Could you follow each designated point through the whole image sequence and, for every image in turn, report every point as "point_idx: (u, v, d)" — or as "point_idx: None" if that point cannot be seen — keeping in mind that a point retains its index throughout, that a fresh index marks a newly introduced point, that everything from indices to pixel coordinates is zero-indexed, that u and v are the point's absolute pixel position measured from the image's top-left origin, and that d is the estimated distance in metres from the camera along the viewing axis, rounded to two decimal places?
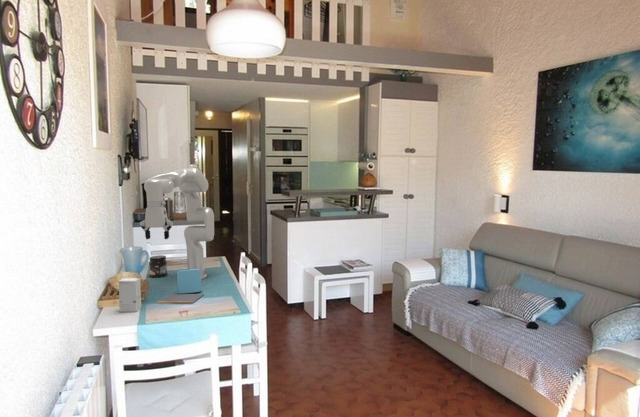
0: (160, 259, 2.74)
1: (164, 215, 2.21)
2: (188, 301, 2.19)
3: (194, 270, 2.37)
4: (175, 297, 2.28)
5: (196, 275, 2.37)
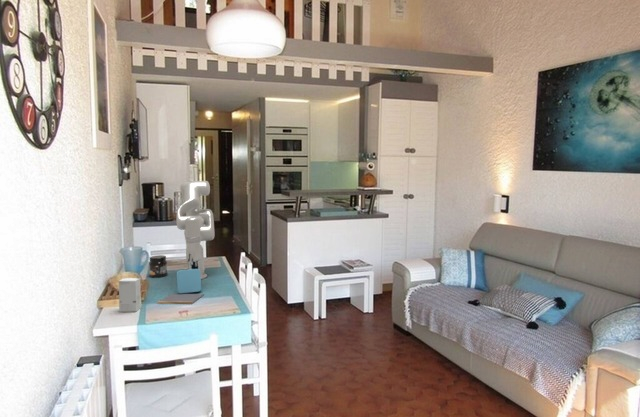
0: (160, 259, 2.74)
1: None
2: (188, 301, 2.19)
3: (194, 270, 2.37)
4: (175, 297, 2.28)
5: (196, 275, 2.37)
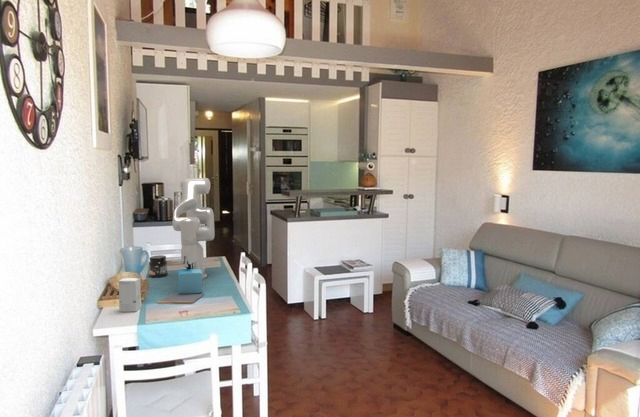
0: (160, 259, 2.74)
1: None
2: (188, 301, 2.19)
3: (196, 273, 2.32)
4: (175, 297, 2.28)
5: (197, 278, 2.33)
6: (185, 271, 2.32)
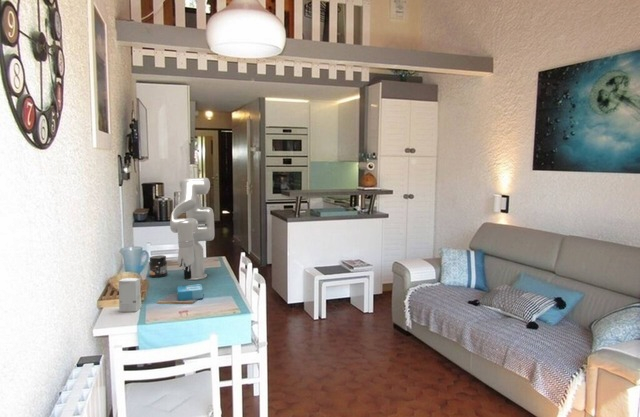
0: (160, 259, 2.74)
1: None
2: (188, 301, 2.19)
3: (196, 298, 2.25)
4: (175, 297, 2.28)
5: None
6: (185, 295, 2.23)
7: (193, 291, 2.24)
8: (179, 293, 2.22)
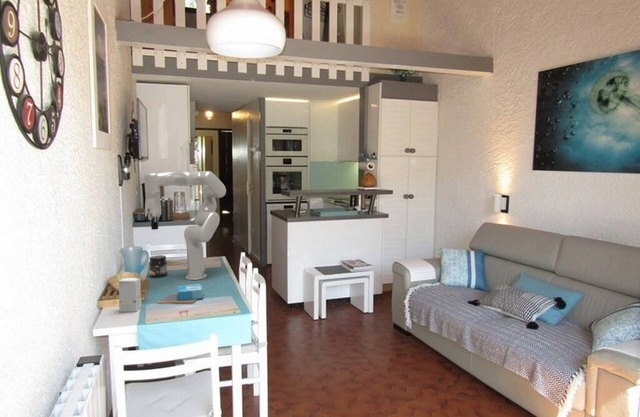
0: (160, 259, 2.74)
1: None
2: (188, 301, 2.19)
3: (196, 298, 2.25)
4: (175, 297, 2.28)
5: None
6: (185, 295, 2.23)
7: (193, 291, 2.24)
8: (179, 293, 2.22)
